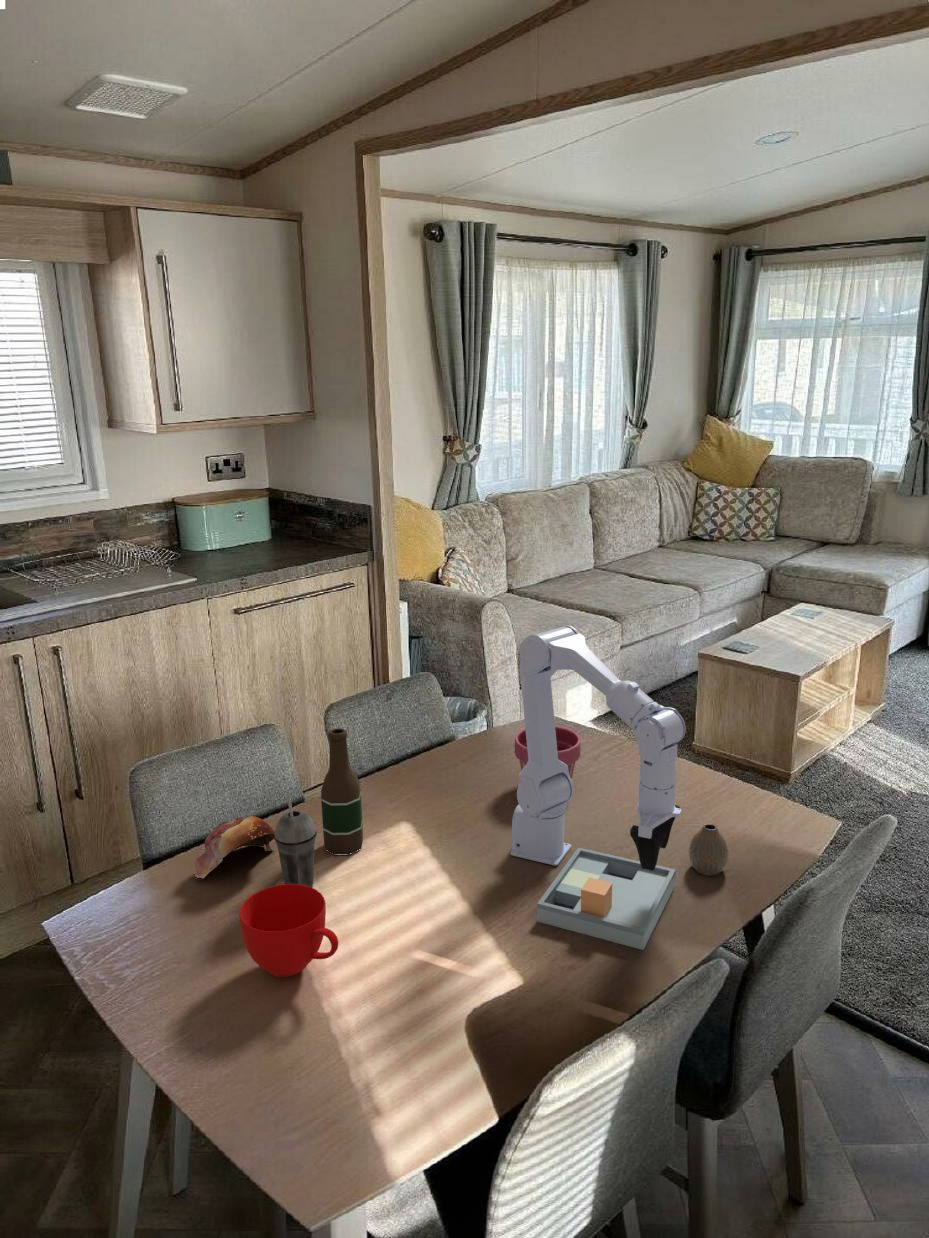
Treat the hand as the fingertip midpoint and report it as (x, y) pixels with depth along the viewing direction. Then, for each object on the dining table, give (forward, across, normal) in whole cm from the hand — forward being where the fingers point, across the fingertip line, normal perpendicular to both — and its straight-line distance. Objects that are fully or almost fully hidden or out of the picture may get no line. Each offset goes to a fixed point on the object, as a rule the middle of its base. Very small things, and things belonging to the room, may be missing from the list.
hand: (654, 857), depth 150 cm
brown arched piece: (+10, -18, +73) cm, 76 cm away
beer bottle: (+10, -4, +59) cm, 60 cm away
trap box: (+10, -1, +7) cm, 12 cm away
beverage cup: (+10, -21, +58) cm, 62 cm away
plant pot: (+10, +34, +32) cm, 48 cm away
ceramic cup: (+10, -38, +46) cm, 60 cm away
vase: (+10, +16, -6) cm, 20 cm away
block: (+7, -8, +7) cm, 13 cm away
